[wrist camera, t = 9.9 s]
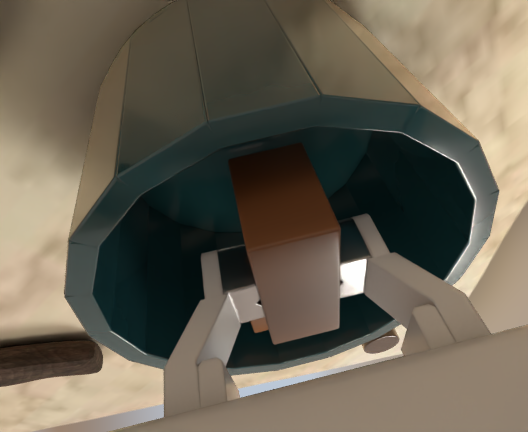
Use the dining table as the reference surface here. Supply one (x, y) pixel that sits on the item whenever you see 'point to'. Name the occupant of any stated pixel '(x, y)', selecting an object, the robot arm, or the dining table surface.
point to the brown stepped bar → (289, 242)
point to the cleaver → (48, 361)
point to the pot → (252, 141)
